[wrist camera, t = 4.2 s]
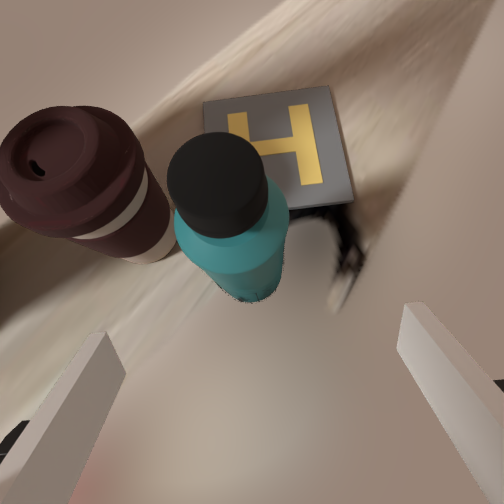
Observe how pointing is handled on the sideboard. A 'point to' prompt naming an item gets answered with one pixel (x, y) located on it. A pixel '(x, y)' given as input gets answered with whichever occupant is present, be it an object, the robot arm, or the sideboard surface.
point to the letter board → (290, 142)
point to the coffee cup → (85, 183)
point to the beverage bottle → (229, 214)
